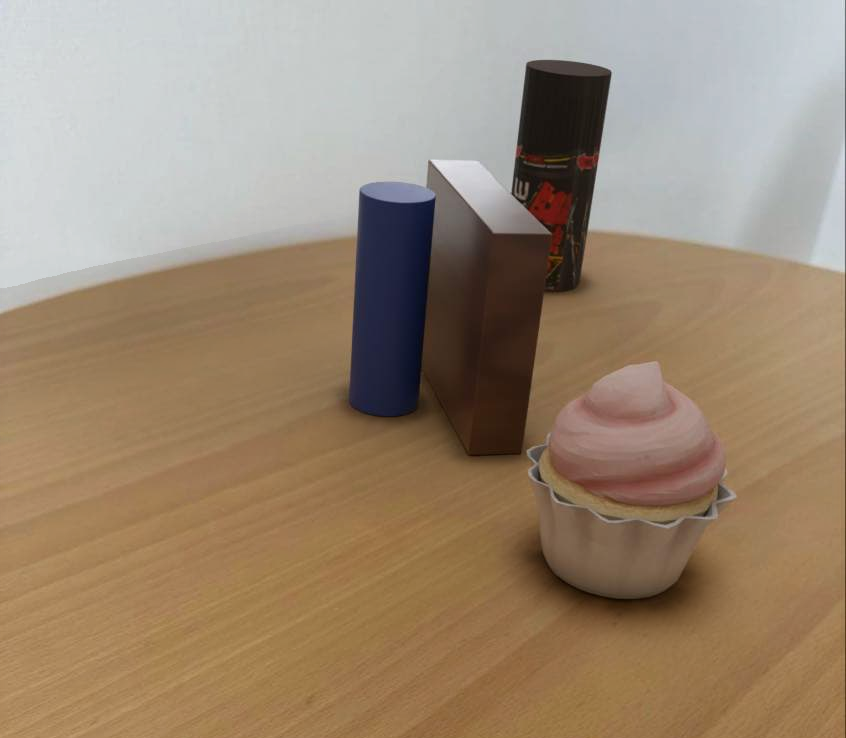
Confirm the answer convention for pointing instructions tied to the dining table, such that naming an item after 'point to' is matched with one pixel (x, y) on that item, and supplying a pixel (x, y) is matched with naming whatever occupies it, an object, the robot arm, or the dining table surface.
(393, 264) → the tube
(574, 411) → the cupcake
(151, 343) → the dining table surface
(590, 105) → the deodorant
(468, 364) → the block
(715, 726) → the dining table surface
